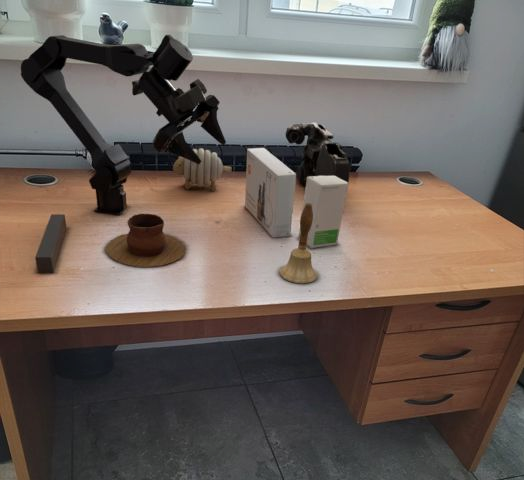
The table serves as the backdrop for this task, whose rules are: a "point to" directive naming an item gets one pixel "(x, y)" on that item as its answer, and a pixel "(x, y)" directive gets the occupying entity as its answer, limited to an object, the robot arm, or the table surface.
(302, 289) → the table surface
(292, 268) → the hand bell
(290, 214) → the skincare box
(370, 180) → the table surface
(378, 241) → the table surface
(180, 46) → the robot arm
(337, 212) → the cosmetic box
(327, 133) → the movie camera
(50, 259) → the rail
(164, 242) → the ceramic pot
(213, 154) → the toy sheep
